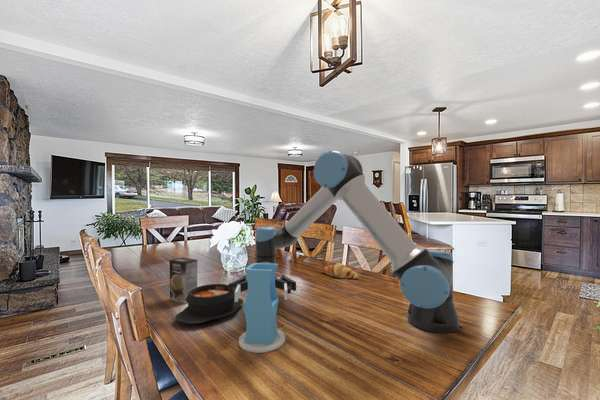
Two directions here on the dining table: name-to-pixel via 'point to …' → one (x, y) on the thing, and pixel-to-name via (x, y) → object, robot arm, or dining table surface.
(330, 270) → the croissant
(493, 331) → the dining table surface
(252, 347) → the plate
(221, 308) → the casserole
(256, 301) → the vase
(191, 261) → the coffee box
